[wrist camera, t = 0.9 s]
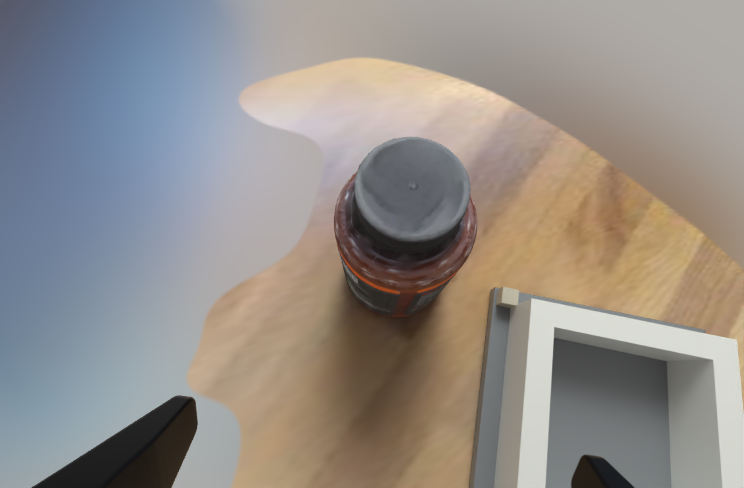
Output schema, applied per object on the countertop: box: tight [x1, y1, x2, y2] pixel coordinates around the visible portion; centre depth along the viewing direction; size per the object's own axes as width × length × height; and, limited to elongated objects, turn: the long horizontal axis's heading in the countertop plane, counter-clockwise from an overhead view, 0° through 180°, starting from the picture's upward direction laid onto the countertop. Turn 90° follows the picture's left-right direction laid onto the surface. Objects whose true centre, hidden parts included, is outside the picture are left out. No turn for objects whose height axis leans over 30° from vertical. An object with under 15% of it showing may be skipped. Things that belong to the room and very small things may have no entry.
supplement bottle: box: [334, 137, 477, 317], centre depth 18 cm, size 6×6×11 cm
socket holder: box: [469, 287, 744, 488], centre depth 19 cm, size 12×12×4 cm
